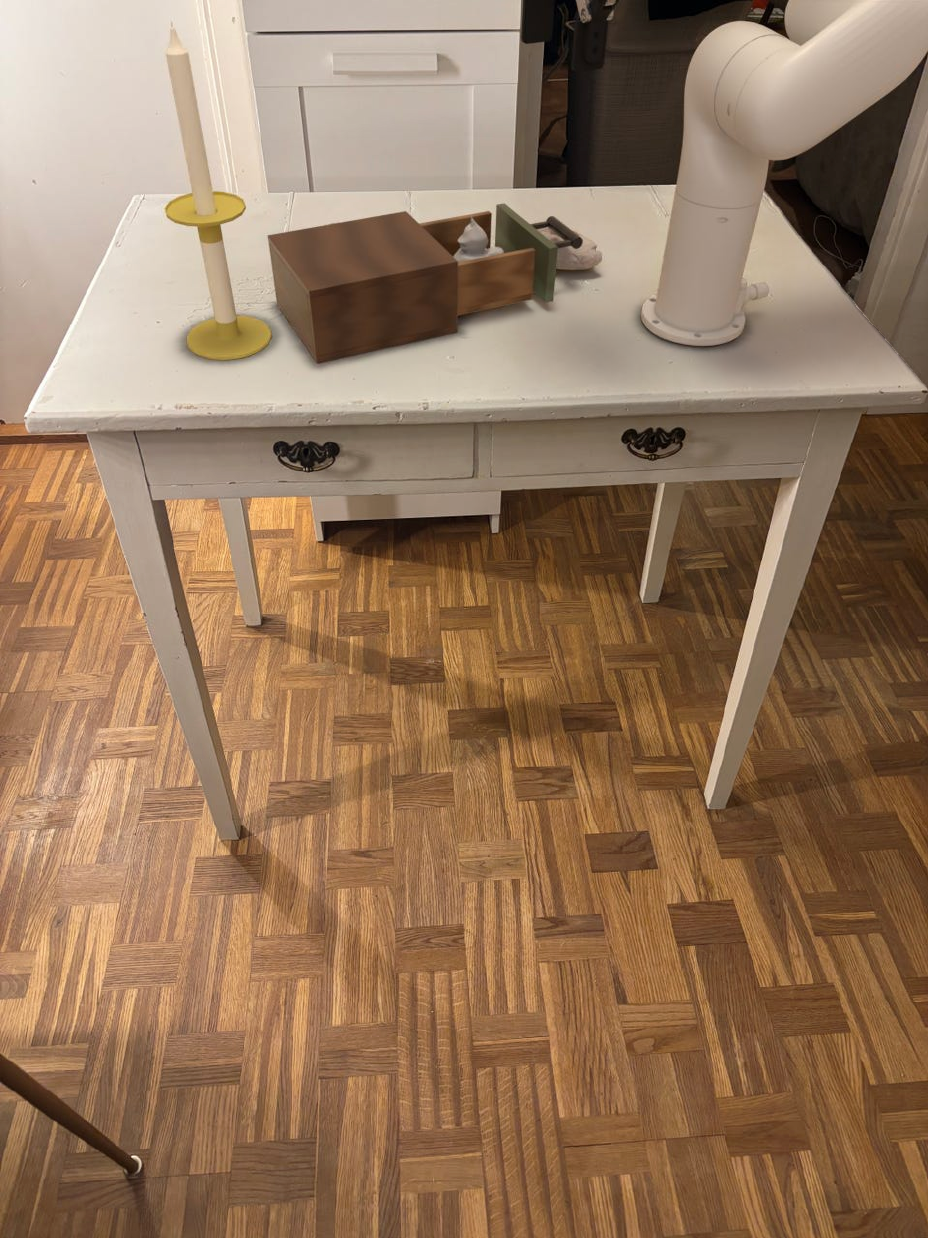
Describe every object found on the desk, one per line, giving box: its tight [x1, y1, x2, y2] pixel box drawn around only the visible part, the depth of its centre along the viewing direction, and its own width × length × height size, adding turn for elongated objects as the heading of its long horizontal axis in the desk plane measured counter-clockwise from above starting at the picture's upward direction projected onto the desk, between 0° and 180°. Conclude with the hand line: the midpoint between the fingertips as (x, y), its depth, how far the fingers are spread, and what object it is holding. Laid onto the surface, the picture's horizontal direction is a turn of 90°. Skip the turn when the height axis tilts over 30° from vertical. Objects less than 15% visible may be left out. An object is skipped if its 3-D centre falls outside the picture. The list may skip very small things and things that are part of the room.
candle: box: [164, 20, 273, 361], centre depth 98 cm, size 10×10×32 cm
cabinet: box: [267, 210, 458, 364], centre depth 110 cm, size 18×15×9 cm
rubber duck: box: [453, 216, 504, 262], centre depth 114 cm, size 5×7×8 cm
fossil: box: [537, 227, 603, 271], centre depth 124 cm, size 12×4×10 cm
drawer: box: [419, 203, 583, 317], centre depth 116 cm, size 22×14×7 cm, turn 115°
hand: (560, 54), depth 88 cm, fingers open, 9 cm apart
